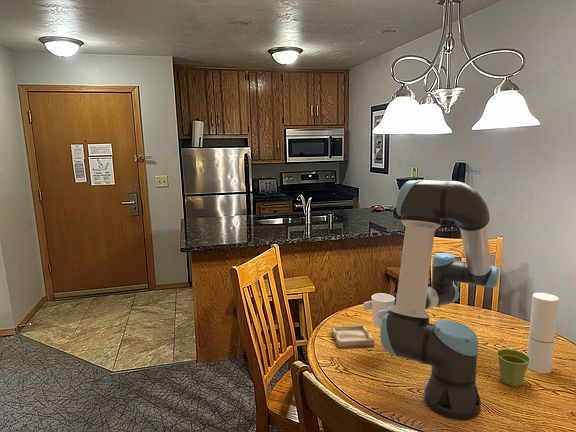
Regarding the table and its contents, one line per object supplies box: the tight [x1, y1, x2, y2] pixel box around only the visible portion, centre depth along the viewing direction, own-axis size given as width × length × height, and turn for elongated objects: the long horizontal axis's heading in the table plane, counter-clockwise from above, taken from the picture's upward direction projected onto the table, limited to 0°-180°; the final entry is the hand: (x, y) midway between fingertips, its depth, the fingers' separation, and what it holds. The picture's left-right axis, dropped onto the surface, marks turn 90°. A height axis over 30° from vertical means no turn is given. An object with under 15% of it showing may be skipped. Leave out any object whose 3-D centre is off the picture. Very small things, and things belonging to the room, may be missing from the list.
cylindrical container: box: [526, 292, 560, 374], centre depth 130 cm, size 7×7×25 cm
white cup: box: [371, 292, 395, 329], centre depth 138 cm, size 8×8×10 cm
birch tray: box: [331, 324, 375, 350], centre depth 154 cm, size 13×13×2 cm
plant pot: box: [495, 348, 531, 388], centre depth 124 cm, size 9×9×9 cm
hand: (371, 310), depth 136 cm, fingers closed on white cup, 8 cm apart
